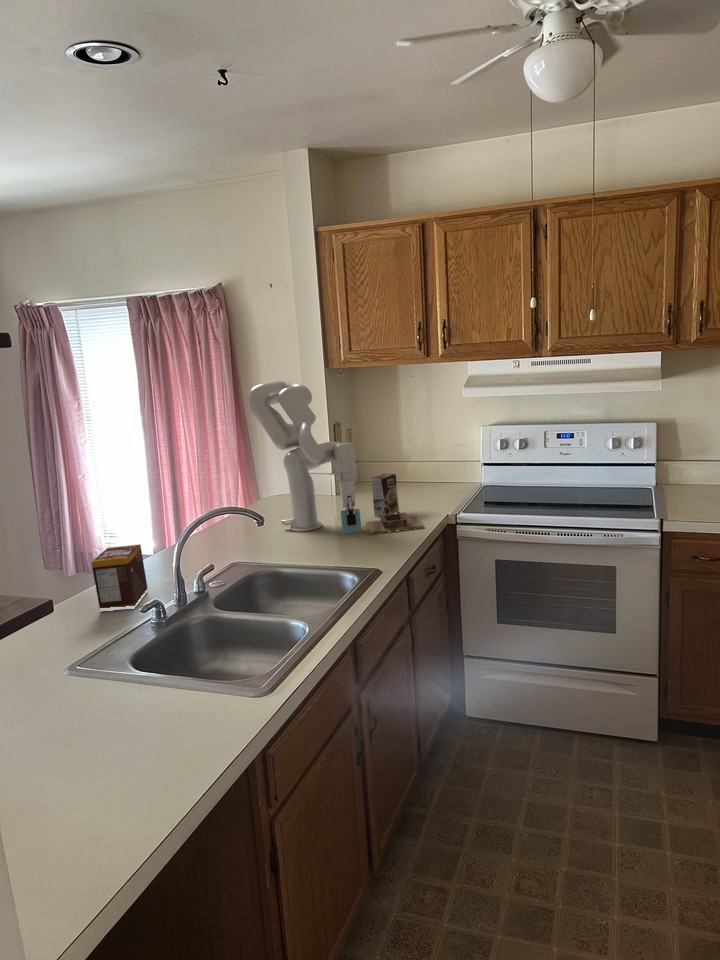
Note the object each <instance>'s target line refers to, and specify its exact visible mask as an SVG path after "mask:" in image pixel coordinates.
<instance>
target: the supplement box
mask: <svg viewBox="0 0 720 960" xmlns="http://www.w3.org/2000/svg"><path fill="white" fill-rule="evenodd" d="M141 545H142V544H131V545H130V544H129V545H121V546H113V547H112V546H110V547H109V546H108V547H107V548H105V549H104V550H103V551H102V552H101V553H100V554H99V555H97V556H96V557H95V558H94V560H93V559H92V561H91V568H92V573H93V578H94V584H95V589H96V597H97V600H98V606H99V609H100V608H110V607H126V606H135V605H136V603H137V602H138V600H139V599H140V598H141V596H142V595H143V594H144V593H145V591H146V590H147V588H148V582H147V577H146V571H145V565H144V558H143V551H142V546H141Z"/></svg>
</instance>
